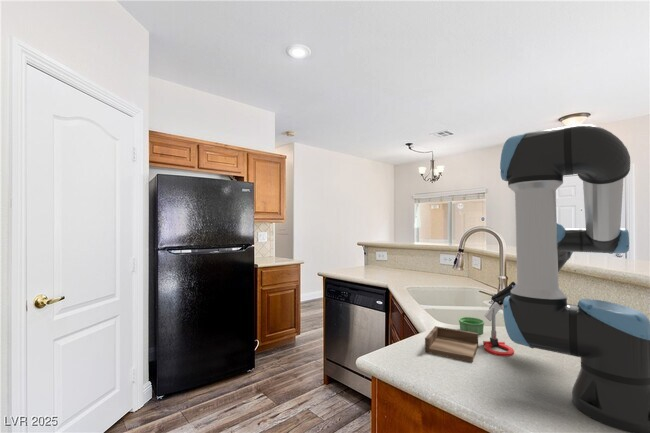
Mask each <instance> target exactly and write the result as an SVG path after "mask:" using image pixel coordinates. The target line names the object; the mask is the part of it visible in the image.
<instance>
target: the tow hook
mask: <svg viewBox="0 0 650 433" xmlns="http://www.w3.org/2000/svg"><path fill="white" fill-rule="evenodd" d="M496 316H497V314H496V315H495V308H492V320H491V331H490V337H489V340H486V341H485V340H483V341H482V344H483V346H484V350H485V351H486V352H487V353H489V354H491V355H495V356H499V357H511V356H512V357H513V355H515V350H514V349H513V347H511V346H509V345H507V344H506V342H505V341H499V339H498V338H497V334H498V333H497V325H496V324H497V323H496V321H497V320H496ZM492 347H499V348H500V349H501V348H502V349H504V350H507V351H497V350H494V349H493V348H492Z"/></svg>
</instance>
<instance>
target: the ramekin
mask: <svg viewBox="0 0 650 433" xmlns="http://www.w3.org/2000/svg"><path fill="white" fill-rule="evenodd" d="M458 322H459V330H462V331H468V332H475V333H478V336H480V335H482V334H483V333H484V324H485V321H484V320H483V319H482V318H479V317H471V316H461V317H459V318H458Z"/></svg>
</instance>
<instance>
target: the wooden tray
mask: <svg viewBox="0 0 650 433" xmlns="http://www.w3.org/2000/svg"><path fill="white" fill-rule="evenodd" d="M478 348H479V335H478V333H475V332H468V331H462V330H460V329H455V328H449V327H443V326H442V327H441V326H435V325H434V327H433V328H432V329H431V330H430V332H429V333H428V334H427V335H426V337H424V349H425V350H424V351H425V353H427V354H432V355H437V356H442V357H447V358H452V359H455V360H461V361H466V362H471V363H473V362H474V360H475V356H476V354H477V351H478Z"/></svg>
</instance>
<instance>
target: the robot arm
mask: <svg viewBox="0 0 650 433" xmlns="http://www.w3.org/2000/svg"><path fill="white" fill-rule="evenodd" d="M499 168H500V178H501V180H502V181H504V182H507V187H508V188H509V189H511V191H513V192H514V197H515V198H514V200H515V203H514V204H515V206H514V207H515V244H516V245H515V247H516V250H515V251H516V282H514V281H511V282H510V284H508V285H507V286H505V288H503V289H501V291H498V292H497V293H496V294H495V295H493V296H491V298H490V299H491V300H492V301H493V303H492V304H491V305H490V306H489V308H488V310H487V312H486V313H485V314H484V317H485V318H486V319H487V320H488V321H489V322H492V308H495V315H496V316H497V314H498V313H499V311H500V310H502V311H503V312H502V313H503V315H502V316H503V319H504V320H503V321H504V326H505V330H506V333H507V336H508V337H509V339H510V340H511V341H512V342H513V343H515V344H517V345H521V346H525V347H528V348H531V349H538V350H542V351H548V352H552V353H557V354H561V355H567V356H572V357H577V358H580V368H579V369H580V370H579V372H578V375H577V377H576V379H575V383H574V385H573V387H572V391H571V397H572V398H571V399H572V403H573V404H574V406H575V407H576V408H577V409H578V410H579V411H580V412H582V413H583V414H584V415H586V416H588V417H590V418H592V419H593V420H595V421H597V422H600V423H602V424H605V425H607V426H609V427H613V428H615V429H619V430H622V431H626V432H630V433H650V319H649V318H648V316H647V315H646V314H645V313H642V312H641V311H639V310H637V309H634V308H632V307H629V306H625V305H622V304H618V303H614V302H611V301H605V300H601V299H600V300H599V299H591V298H590V299H589V298H580V299H579V301H578V302H577V304H571V303H568V297H567V294H565V292H563V291H562V290H561V289H560V288H559V272H560V271H561V270H562V268H563V267H564V265H566V263H567V262H568V261H569V260H570V259H571V256H572V254H573V253H594V254H596V253H597V254H598V253H599V254H610V255H611V254H626V253H628V252H629V251H630V233H629V230H628V229H627V228H625V227H623V228H622V226H621V225H622V209H623V208H622V206H623V194H624V193H623V191H624V179H625V178H626V177H627V176H628V175H629V173H630V172H631V171H630V170H631V156H630V152H629V151H628V147H627V146H626V145H625V144H624V142H623V141H622V140H621V139H620V138H619V137H618V136H616V134H614V133H613V132H611V131H609V130H607V129H606V128H604V127H600V126H598V125H594V124H588V123H586V124H584V123H583V124H580V123H579V124H572V125H570V126H569V125H568V126H564V127H563V126H561V127H557V128H556V127H555V128H550V129H549V128H548V129H542V130H537V131H531V132H525V133H523V134H518V135H513V136H511V137H509V138H507V140H506V141H505V142H504V144H503V146H502V149H501V154H500V164H499ZM571 175H572V176H574V175H577V176H578V178H579V179H580V180H581V181H582V189H583V202H584V203H583V206H584V220H585V222H584V223H585V227H582V228H581V227H579V228H578V227H572V228H571V227H570V228H569V227H566V228H564V225H562V224H561V223H558V222H557V218H558V217H557V190H558V189H559V188H560V186H563V184H564V176H571ZM502 306H503V307H502ZM501 308H503V309H501Z"/></svg>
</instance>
